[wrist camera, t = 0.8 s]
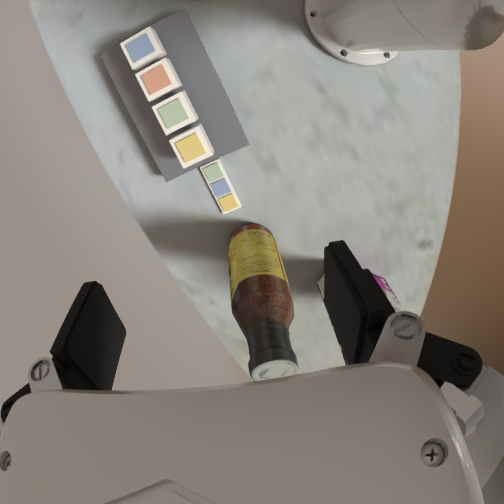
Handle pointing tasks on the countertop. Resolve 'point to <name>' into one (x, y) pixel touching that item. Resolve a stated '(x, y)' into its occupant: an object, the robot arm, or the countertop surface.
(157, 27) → the keypad board
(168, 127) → the key sage
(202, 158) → the key mustard
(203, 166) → the strip
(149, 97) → the key terracotta
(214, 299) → the countertop surface
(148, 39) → the key blue
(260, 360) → the sauce bottle
